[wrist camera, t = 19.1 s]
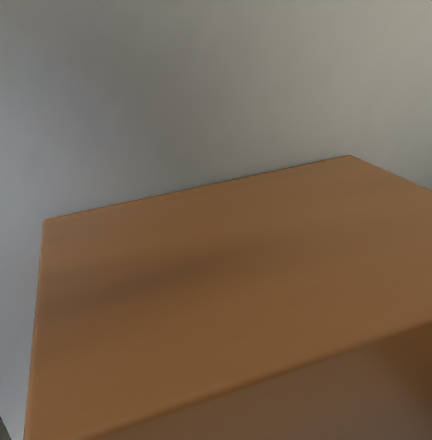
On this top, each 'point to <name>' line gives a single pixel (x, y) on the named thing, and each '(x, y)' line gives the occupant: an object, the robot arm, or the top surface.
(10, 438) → the robot arm
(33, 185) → the top surface
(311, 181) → the oak box
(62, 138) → the top surface
